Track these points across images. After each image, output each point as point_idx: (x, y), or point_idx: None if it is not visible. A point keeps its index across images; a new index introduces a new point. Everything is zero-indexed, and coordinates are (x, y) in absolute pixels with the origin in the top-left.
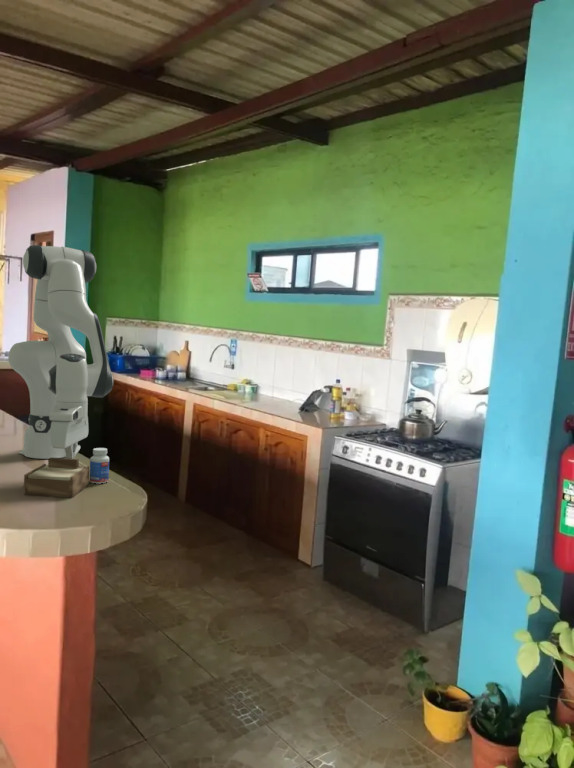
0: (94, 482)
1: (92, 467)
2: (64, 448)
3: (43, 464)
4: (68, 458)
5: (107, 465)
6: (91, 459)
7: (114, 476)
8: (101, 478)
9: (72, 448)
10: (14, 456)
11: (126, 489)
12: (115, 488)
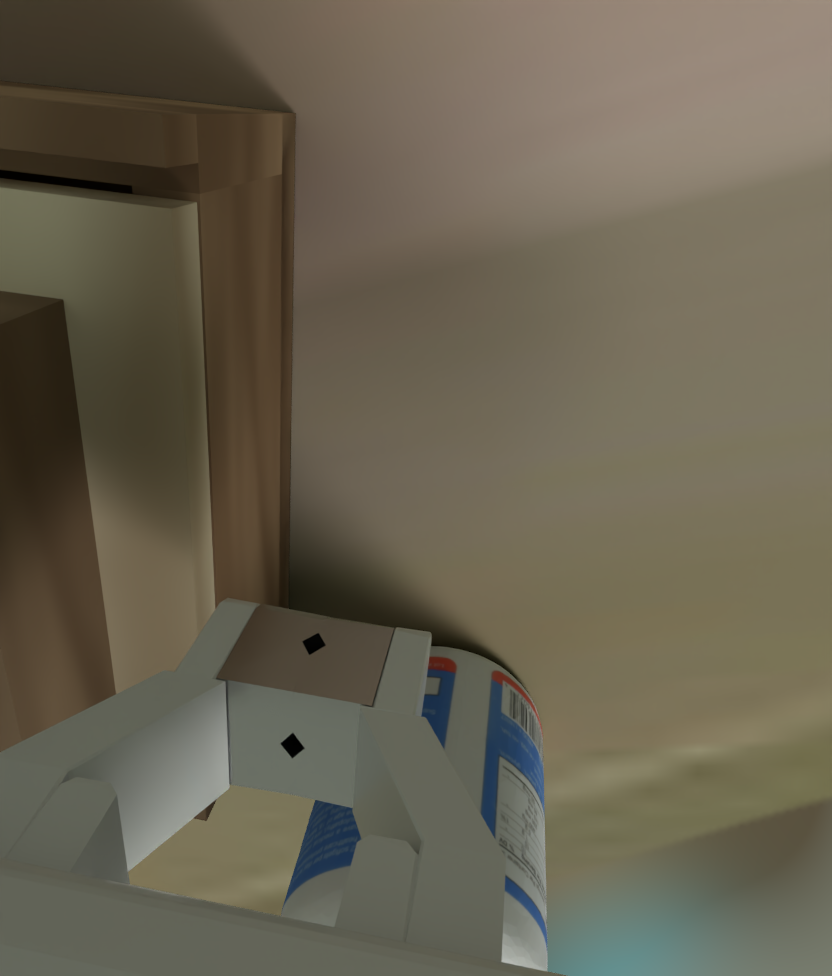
0: None
1: (319, 815)
2: (16, 746)
3: (112, 113)
4: (6, 692)
5: None
6: (308, 906)
7: (689, 824)
8: None
9: (380, 823)
10: None
11: (230, 890)
12: (239, 831)
